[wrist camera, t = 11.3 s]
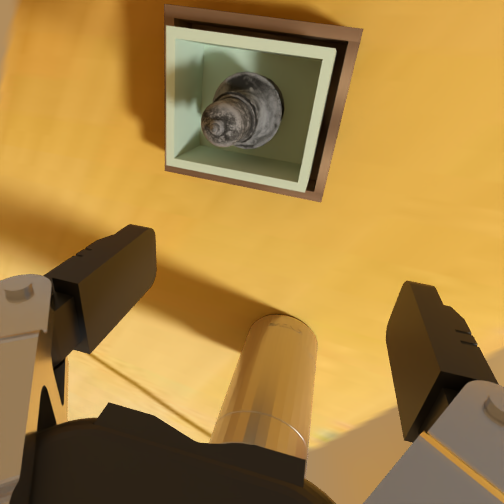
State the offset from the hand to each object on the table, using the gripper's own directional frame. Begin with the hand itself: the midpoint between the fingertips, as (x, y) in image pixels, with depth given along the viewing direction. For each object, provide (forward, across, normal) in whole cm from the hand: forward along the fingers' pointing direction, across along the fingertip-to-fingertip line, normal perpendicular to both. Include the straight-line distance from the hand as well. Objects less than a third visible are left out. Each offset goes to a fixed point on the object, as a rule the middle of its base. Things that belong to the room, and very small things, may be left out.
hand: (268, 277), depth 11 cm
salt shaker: (+23, +6, -3) cm, 24 cm away
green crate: (+24, +6, -3) cm, 25 cm away
